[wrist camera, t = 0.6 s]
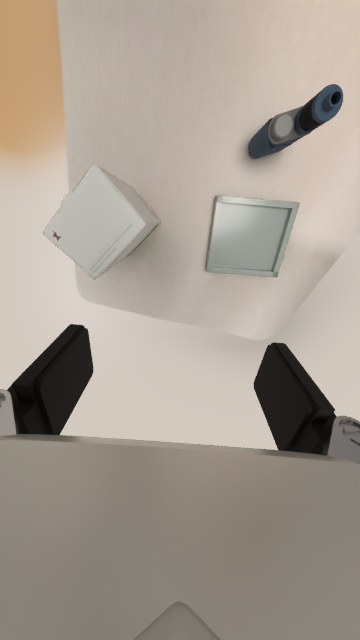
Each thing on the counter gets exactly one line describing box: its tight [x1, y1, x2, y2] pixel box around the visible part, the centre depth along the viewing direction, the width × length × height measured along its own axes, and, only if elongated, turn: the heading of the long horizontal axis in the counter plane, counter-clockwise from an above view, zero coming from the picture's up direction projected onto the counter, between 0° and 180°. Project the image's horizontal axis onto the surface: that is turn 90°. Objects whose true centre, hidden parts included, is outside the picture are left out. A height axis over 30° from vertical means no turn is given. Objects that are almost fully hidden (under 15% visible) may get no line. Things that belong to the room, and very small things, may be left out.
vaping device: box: [249, 84, 343, 158], centre depth 22 cm, size 3×5×12 cm, turn 105°
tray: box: [206, 195, 300, 277], centre depth 33 cm, size 11×12×2 cm
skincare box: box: [43, 163, 161, 279], centre depth 26 cm, size 8×7×16 cm
